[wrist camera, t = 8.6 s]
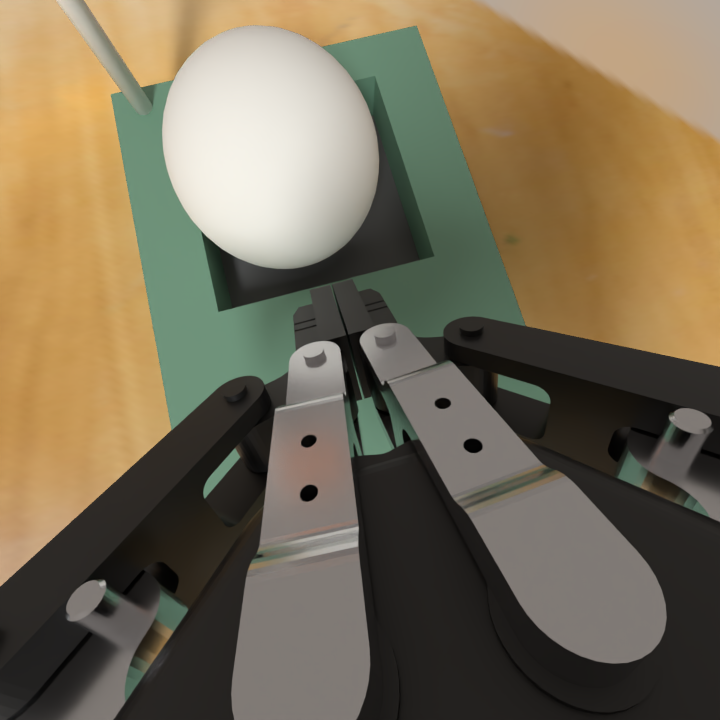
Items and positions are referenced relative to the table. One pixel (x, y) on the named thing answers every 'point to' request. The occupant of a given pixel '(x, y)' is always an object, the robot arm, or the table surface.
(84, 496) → the table surface
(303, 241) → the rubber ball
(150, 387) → the table surface
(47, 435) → the table surface
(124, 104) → the putting board
